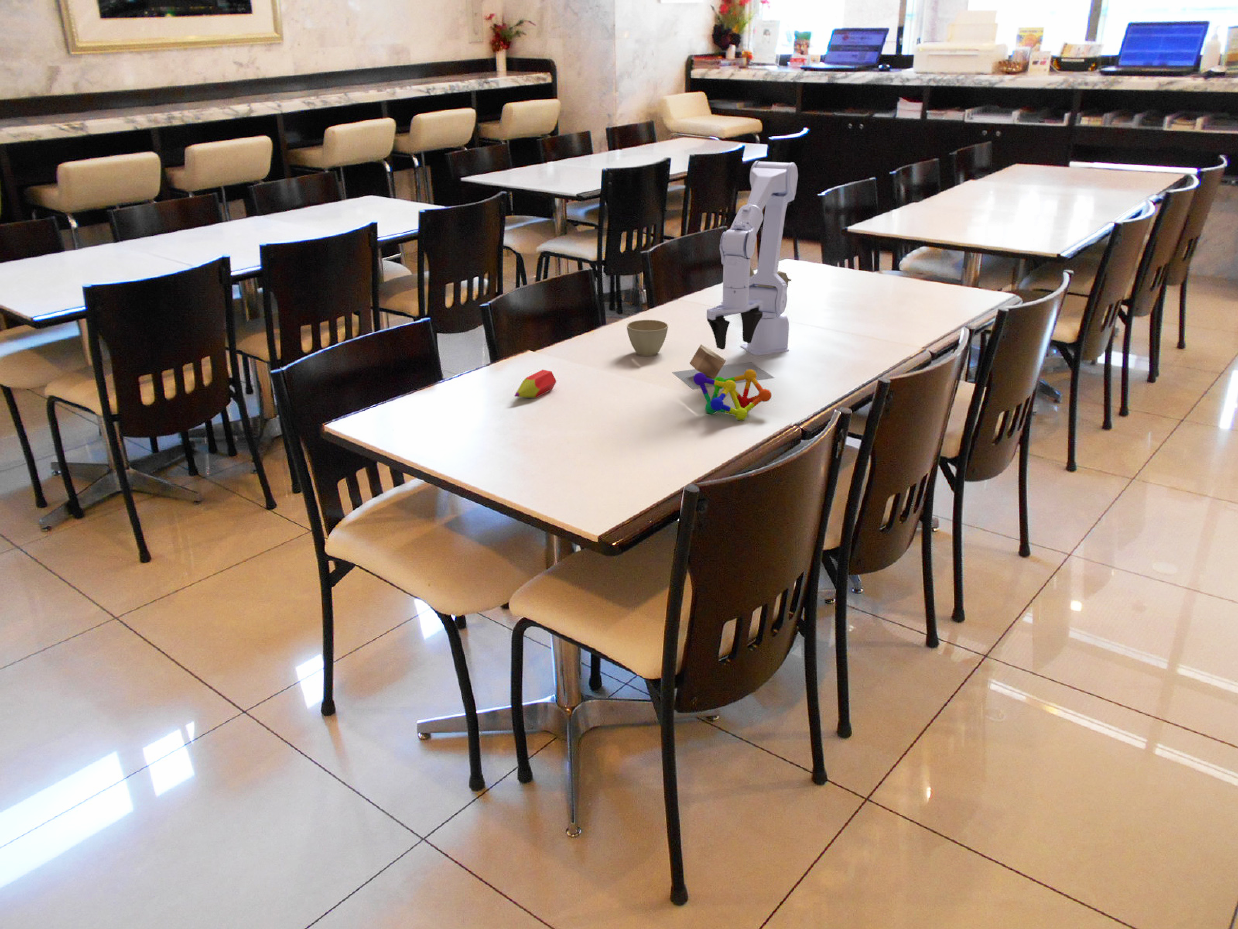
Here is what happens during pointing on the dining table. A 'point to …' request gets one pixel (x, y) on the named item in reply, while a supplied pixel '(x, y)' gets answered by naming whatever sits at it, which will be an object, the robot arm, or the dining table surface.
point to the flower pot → (647, 336)
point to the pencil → (536, 384)
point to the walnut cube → (707, 361)
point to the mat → (723, 373)
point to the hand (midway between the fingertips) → (734, 345)
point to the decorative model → (732, 394)
